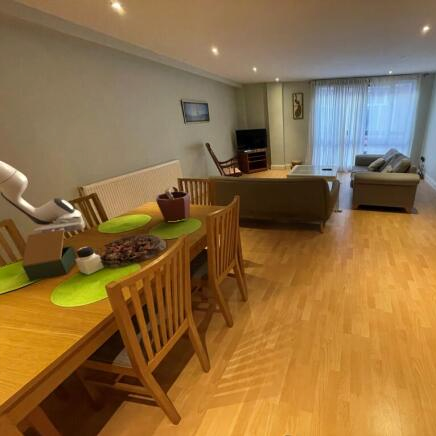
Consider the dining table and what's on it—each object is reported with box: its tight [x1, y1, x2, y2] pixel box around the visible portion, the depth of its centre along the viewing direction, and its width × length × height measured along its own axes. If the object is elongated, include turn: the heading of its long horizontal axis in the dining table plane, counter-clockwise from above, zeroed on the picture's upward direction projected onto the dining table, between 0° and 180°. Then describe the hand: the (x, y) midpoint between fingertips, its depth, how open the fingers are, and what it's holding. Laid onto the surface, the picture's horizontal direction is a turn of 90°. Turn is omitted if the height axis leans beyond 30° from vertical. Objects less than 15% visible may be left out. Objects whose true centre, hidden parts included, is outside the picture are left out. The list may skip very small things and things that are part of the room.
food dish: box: [94, 233, 167, 268], centre depth 135 cm, size 35×33×8 cm
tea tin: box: [22, 245, 79, 282], centre depth 119 cm, size 16×14×8 cm
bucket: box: [155, 185, 191, 224], centre depth 177 cm, size 24×22×25 cm
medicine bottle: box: [75, 246, 105, 275], centre depth 117 cm, size 7×7×12 cm
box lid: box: [21, 230, 66, 267], centre depth 114 cm, size 17×14×1 cm
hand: (55, 233), depth 126 cm, fingers closed
